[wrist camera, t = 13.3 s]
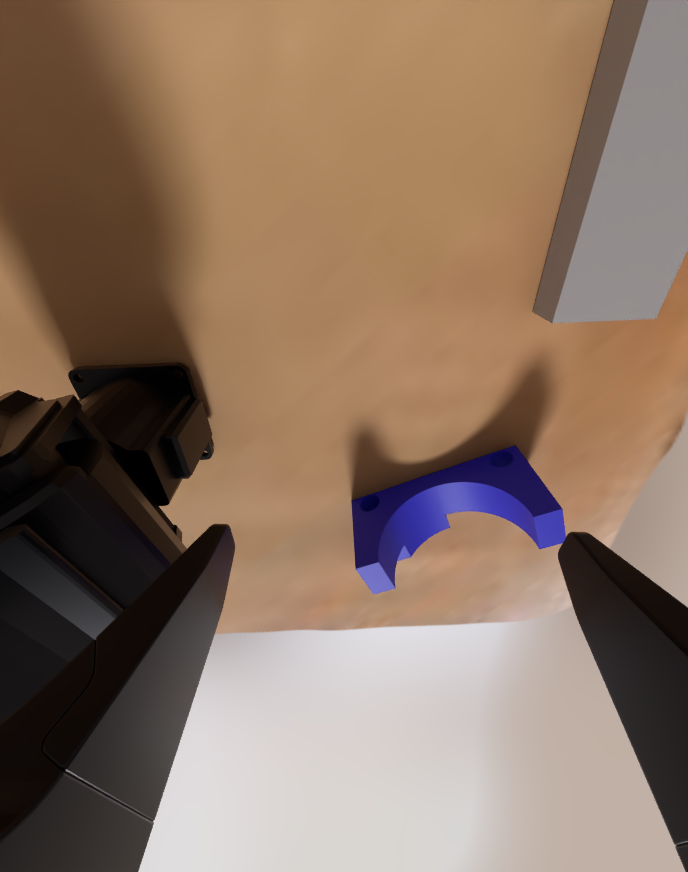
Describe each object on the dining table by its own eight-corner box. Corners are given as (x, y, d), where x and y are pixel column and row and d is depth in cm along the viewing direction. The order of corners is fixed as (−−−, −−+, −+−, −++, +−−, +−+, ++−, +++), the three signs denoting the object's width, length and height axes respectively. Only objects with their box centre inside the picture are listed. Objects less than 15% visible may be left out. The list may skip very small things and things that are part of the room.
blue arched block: (373, 534, 29) (381, 605, 24) (351, 498, 26) (355, 569, 21) (523, 488, 26) (568, 556, 21) (514, 443, 24) (562, 508, 19)
